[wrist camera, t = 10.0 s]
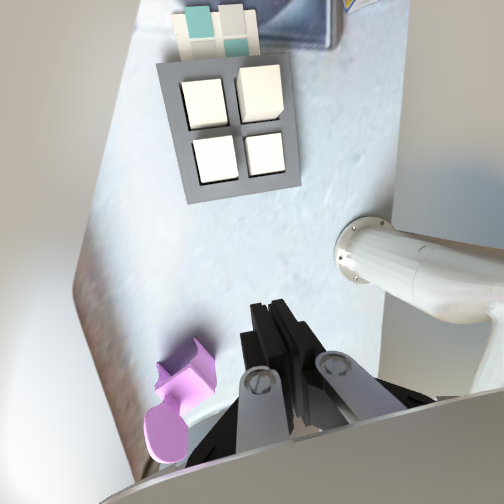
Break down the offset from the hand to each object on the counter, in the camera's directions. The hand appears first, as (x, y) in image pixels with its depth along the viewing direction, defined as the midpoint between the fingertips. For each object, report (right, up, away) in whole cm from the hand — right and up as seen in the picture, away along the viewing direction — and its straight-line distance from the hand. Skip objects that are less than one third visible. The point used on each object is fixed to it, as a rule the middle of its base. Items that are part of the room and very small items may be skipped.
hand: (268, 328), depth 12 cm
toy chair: (-13, -16, +31) cm, 37 cm away
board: (-4, +24, +22) cm, 33 cm away
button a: (0, +18, +24) cm, 30 cm away
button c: (0, +24, +20) cm, 32 cm away
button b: (-6, +16, +21) cm, 27 cm away
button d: (-7, +24, +21) cm, 33 cm away
